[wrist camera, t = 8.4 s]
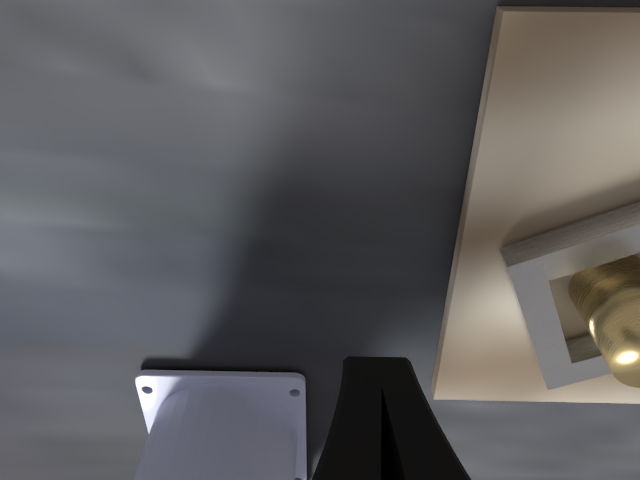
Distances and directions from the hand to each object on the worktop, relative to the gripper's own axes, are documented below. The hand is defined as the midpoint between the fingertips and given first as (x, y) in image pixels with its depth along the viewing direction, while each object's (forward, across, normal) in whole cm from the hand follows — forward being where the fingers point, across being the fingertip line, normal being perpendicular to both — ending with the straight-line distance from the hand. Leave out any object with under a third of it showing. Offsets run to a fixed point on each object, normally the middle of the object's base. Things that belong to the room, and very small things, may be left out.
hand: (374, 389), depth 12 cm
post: (+9, -10, +4) cm, 14 cm away
